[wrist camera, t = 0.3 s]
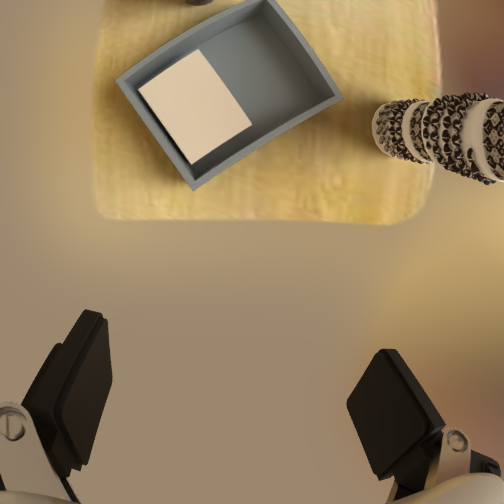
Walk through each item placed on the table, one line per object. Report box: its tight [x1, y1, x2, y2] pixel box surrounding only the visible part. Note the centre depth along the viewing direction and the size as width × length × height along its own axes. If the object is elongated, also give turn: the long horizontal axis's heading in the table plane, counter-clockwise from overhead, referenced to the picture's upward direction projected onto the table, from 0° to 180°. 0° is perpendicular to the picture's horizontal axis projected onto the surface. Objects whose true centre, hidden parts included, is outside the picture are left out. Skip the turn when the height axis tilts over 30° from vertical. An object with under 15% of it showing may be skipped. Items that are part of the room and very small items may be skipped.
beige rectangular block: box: [138, 49, 252, 165], centre depth 30 cm, size 8×11×4 cm
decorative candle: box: [372, 93, 504, 185], centre depth 24 cm, size 9×9×25 cm
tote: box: [115, 0, 344, 191], centre depth 29 cm, size 20×16×6 cm
